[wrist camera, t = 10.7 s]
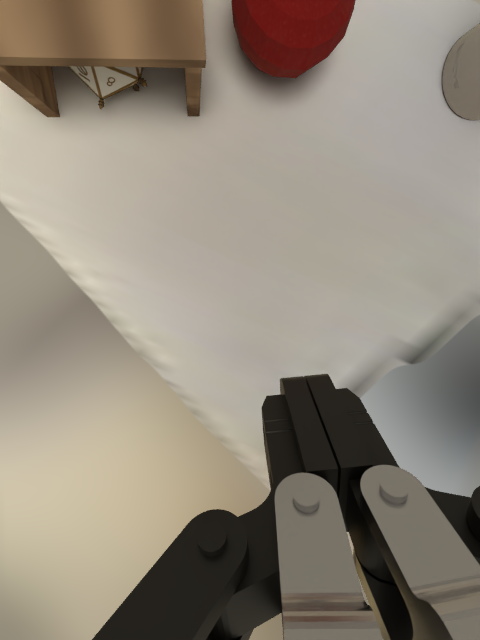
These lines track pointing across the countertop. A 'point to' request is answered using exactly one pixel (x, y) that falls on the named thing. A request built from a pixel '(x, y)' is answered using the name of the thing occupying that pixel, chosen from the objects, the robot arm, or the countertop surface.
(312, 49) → the apple
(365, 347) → the countertop surface
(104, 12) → the tunnel
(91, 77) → the game die
